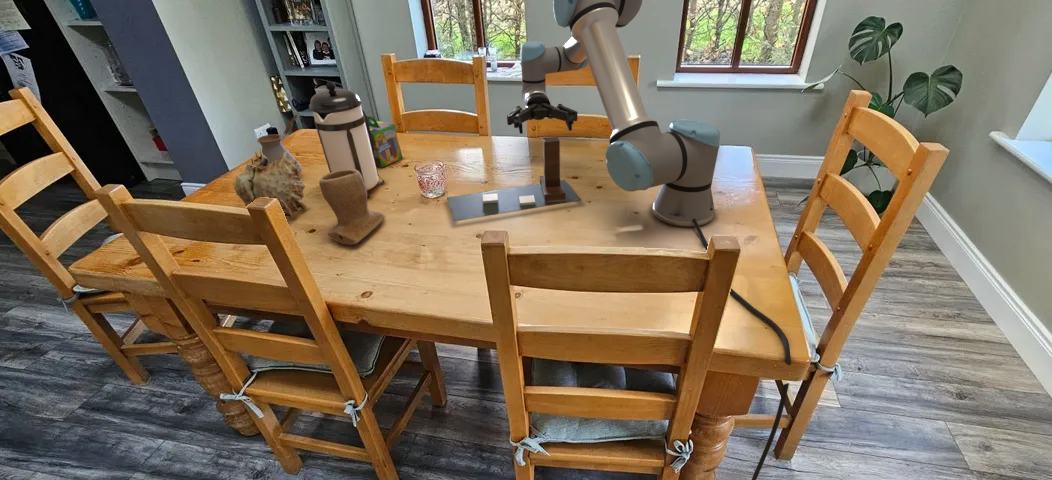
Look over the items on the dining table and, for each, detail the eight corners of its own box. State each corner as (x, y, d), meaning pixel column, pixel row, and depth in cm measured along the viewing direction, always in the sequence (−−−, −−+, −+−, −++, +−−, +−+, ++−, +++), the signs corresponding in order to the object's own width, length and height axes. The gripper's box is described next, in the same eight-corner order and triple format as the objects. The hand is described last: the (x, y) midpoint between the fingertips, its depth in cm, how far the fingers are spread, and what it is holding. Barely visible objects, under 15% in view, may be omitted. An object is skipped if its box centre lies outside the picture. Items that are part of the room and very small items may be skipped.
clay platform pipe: (352, 214, 129) (336, 160, 120) (392, 219, 126) (379, 164, 117) (315, 243, 117) (295, 186, 108) (358, 250, 114) (341, 191, 105)
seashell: (297, 136, 125) (249, 142, 128) (253, 166, 111) (200, 173, 114) (328, 197, 135) (283, 201, 139) (292, 232, 121) (243, 236, 125)
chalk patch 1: (498, 202, 129) (497, 199, 129) (483, 203, 129) (482, 201, 128) (497, 195, 132) (497, 193, 132) (482, 197, 132) (482, 194, 132)
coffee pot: (291, 188, 143) (272, 138, 134) (255, 186, 144) (235, 137, 135) (328, 160, 160) (314, 114, 151) (296, 158, 161) (280, 113, 152)
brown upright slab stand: (565, 201, 129) (565, 146, 120) (544, 203, 128) (543, 148, 120) (559, 182, 139) (558, 130, 130) (539, 184, 138) (537, 132, 129)
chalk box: (403, 158, 159) (393, 113, 151) (381, 168, 153) (370, 121, 144) (383, 153, 163) (373, 109, 155) (362, 163, 157) (350, 117, 148)
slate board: (581, 205, 130) (581, 200, 129) (454, 226, 122) (454, 221, 121) (564, 184, 141) (564, 179, 140) (447, 202, 133) (446, 197, 132)
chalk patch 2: (535, 204, 128) (535, 201, 127) (520, 205, 127) (519, 203, 127) (533, 197, 131) (533, 195, 131) (518, 199, 131) (518, 196, 130)
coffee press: (395, 192, 139) (370, 82, 121) (337, 206, 132) (302, 92, 115) (379, 171, 151) (355, 69, 134) (325, 183, 145) (292, 78, 127)
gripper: (577, 114, 153) (590, 137, 136) (498, 118, 151) (501, 143, 134) (577, 89, 149) (591, 110, 132) (495, 94, 146) (499, 116, 129)
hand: (545, 127), depth 133 cm, fingers open, 13 cm apart
